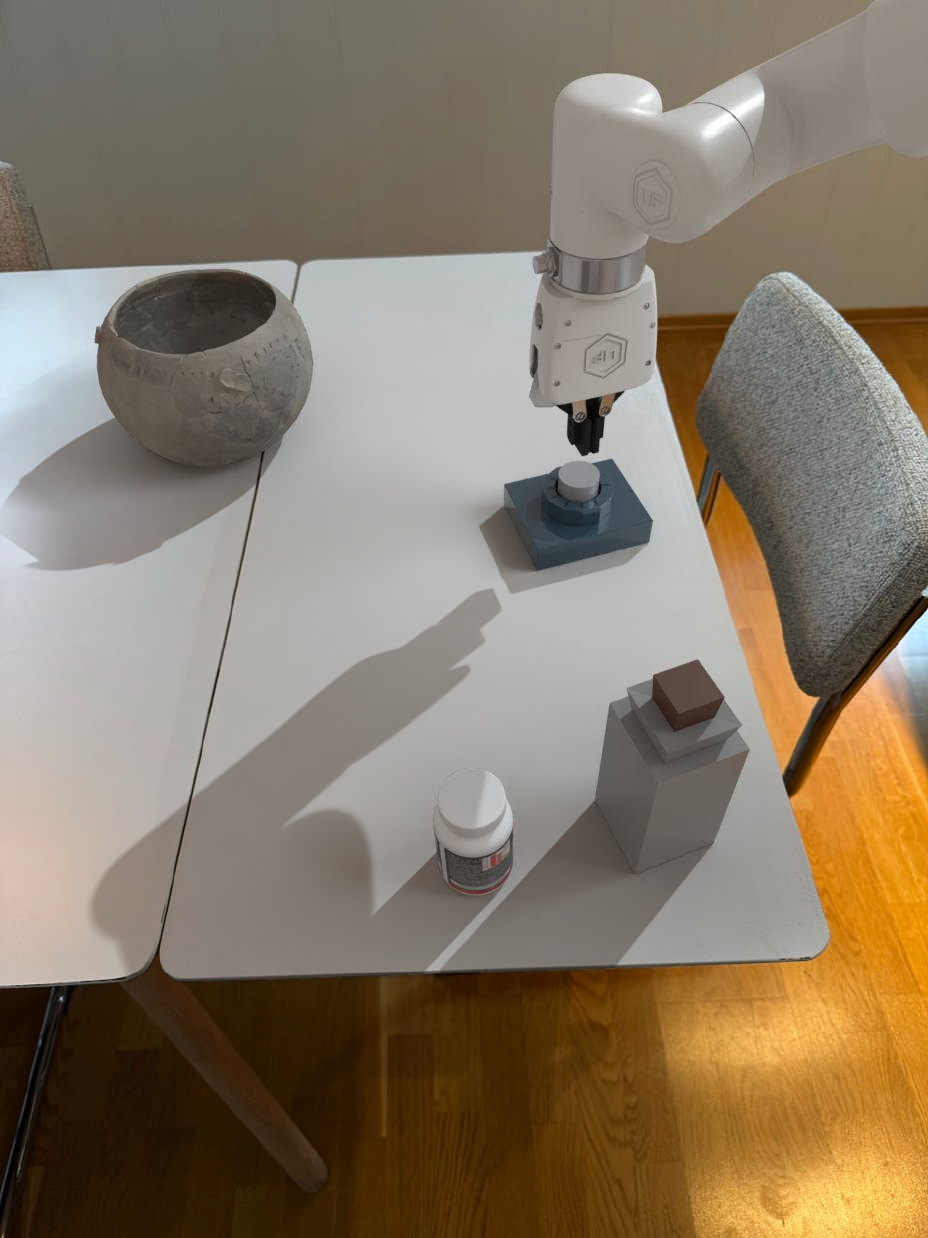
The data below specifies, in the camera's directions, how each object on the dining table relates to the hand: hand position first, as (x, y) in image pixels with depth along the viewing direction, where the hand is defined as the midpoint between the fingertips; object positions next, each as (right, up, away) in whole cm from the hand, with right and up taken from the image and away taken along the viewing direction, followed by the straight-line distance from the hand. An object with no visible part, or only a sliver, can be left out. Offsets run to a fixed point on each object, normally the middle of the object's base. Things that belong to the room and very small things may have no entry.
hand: (584, 445), depth 84 cm
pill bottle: (-10, -35, -15) cm, 40 cm away
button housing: (0, -6, +8) cm, 10 cm away
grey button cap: (0, -4, +4) cm, 6 cm away
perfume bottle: (+4, -32, -14) cm, 35 cm away
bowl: (-39, +6, +21) cm, 45 cm away
